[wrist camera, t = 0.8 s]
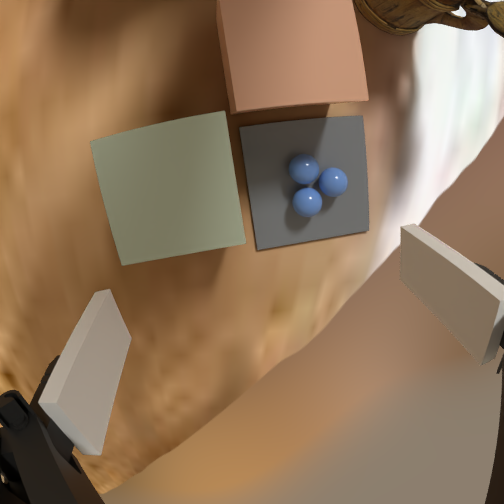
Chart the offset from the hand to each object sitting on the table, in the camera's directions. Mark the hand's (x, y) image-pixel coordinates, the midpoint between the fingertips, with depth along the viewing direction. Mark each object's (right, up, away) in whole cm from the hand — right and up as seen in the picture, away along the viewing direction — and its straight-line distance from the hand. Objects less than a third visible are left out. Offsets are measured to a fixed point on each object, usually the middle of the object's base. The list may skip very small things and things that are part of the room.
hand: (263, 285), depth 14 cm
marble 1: (+4, +10, +18) cm, 21 cm away
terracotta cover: (+2, +20, +14) cm, 25 cm away
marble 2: (+5, +7, +20) cm, 21 cm away
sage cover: (-8, +9, +18) cm, 21 cm away
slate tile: (+6, +9, +19) cm, 22 cm away
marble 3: (+7, +9, +19) cm, 22 cm away
